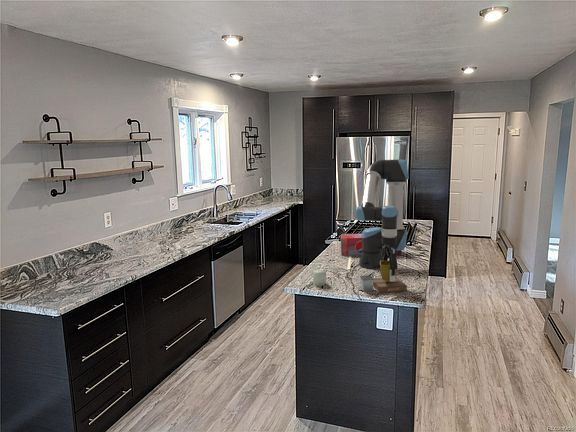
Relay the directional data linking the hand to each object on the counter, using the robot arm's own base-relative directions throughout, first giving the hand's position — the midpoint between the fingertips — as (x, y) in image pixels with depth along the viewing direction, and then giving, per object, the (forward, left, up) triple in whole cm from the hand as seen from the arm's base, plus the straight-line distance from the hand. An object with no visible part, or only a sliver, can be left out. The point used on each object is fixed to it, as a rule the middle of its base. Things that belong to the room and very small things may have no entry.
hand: (388, 277), depth 217 cm
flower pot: (0, 0, -1) cm, 1 cm away
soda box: (-69, +12, -6) cm, 71 cm away
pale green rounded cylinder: (-13, -34, -5) cm, 37 cm away
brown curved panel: (0, 0, -5) cm, 5 cm away
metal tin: (+1, -12, -5) cm, 13 cm away
